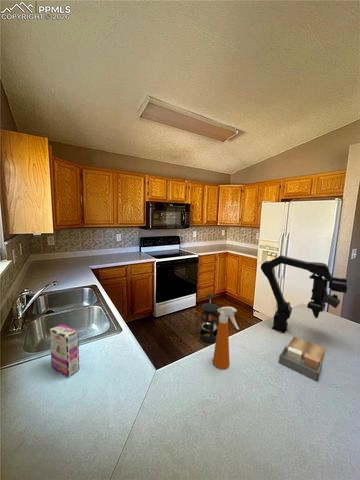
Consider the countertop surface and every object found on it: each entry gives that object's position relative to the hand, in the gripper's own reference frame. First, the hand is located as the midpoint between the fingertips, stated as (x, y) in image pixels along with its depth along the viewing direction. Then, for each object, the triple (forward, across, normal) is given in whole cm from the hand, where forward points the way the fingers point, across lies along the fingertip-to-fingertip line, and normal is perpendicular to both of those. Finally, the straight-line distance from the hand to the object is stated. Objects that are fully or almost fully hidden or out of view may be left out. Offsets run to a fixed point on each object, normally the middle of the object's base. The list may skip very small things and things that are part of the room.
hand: (316, 317), depth 102 cm
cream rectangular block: (+9, -24, +4) cm, 26 cm away
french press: (+12, -38, +40) cm, 57 cm away
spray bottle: (+12, -49, +24) cm, 56 cm away
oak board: (+12, -16, +1) cm, 20 cm away
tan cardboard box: (+9, -24, -3) cm, 26 cm away
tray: (+12, -26, +1) cm, 29 cm away
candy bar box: (+12, -95, +69) cm, 118 cm away
